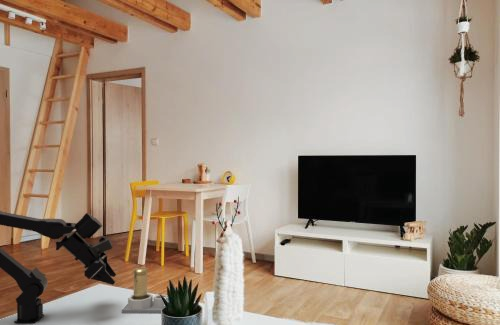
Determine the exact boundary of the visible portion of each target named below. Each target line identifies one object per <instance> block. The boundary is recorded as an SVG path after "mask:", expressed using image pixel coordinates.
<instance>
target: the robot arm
mask: <svg viewBox="0 0 500 325" xmlns="http://www.w3.org/2000/svg"><path fill="white" fill-rule="evenodd" d="M0 226H4V227H10V228H16V229H20V230H26V231H29V232H30V231H31V232H35V233H37V234H40V235H41V236H43V237H46V238H49V239H52V240H56V241H55V246H56V247H55V251H59V250H60V249H61V248H62V247H63V248H64V249H65V250H66V251H67V252H68V253H69V254H70V255H72V256H73V257H74V260H76V261H77V262H78V261H79V262H80V263H81V265H83V266H84V268H85V269H84V272H83V273H84V276H85V278H87V279H88V280H91V281H92V280H94V281H98V282H101V283H105V284H109V285H114V284H115V283H116V281H115V280H114V278H115V277H116V276H117V273H116V272H115V270H114V269H113V268H112V266H111V265H110V263H109V262H108V256H109V255H108V252H107V251H110V250H112V249H113V247H114V245H113V243H112V240H111V239H110V237H106V236H101V237H99V239H98V242H97V243H95V244H92V243H91V242H89V243H88V242H87V241H85V239H91V238H92V237H93V236H94V235H95V234H96V233H97V232H98V231H99V230H101V228H102V227H103V224H102V222H100V220H98V218H96V217H94V216H93V215H91V214H89V212H86V213H85V214H83V216H82V218H80V219H79V220H78V221H77V222H76V223H75V222H66V221H65V220H64V219H62V218H36V217H32V216H26V215H23V214H21V215H20V214H17V213H11V212H7V211H1V210H0ZM74 230H75V231H74ZM62 237H63V238H62ZM60 238H62V239H60ZM58 239H60V240H58ZM0 269H1V270H2V271H3V272H5V273H6V274H7V275H9V276H10V277H11V278H12V279H14V281H15V282H16V284H17V286H18V288H19V290H20V291H21V292H20V293H19V295H18V296H17V297H16V298H15V301H16V318H17V319H15V320H14V321H13V323H14V324H34V323H36V322H37V321H39V320H40V319H42V318H43V317H44V316H45V314H44V305H43V303H42V298H39V297H41V295H42V294H44V292H45V289H46V288H47V286H48V279H47V277H46V274H45V273H42V272H41V271H40V270H39V269H38V268H37V267H34V268H33V269H32V270H31V269H28V268H27V267H25V266H24V265H23V264H22V263H20V262H19V261H18V260H16V259H15V258H14V257H13V256H12V255H10V254H9V253H8V252H6V251H5V249H3V248H2V247H0Z"/></svg>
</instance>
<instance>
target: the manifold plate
mask: <svg viewBox="0 0 500 325" xmlns="http://www.w3.org/2000/svg"><path fill="white" fill-rule="evenodd" d="M160 295H162V296H163V297H165V298H166V300H167V301H169V297H168V298H167V296H168V295H167V294H158V295H154V296H153V295H152V294H151V293H148V292H147V298H146V299H143V300H134V294H131V295H129V297H128V298H127V304H126V305H125V306H124V307H123V308H122V310H121V314H162V313H161V310H162V309H163V308H164V307H165V306H164V303H163V301H162V299H161V296H160Z"/></svg>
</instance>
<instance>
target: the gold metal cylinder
mask: <svg viewBox="0 0 500 325" xmlns="http://www.w3.org/2000/svg"><path fill="white" fill-rule="evenodd" d="M132 273H133V274H132V275H133V295H134V300H143V299H146V298H147V293H148V268H147V267H144V266H143V267H142V266H141V267H140V266H139V267H136V268H133V272H132Z"/></svg>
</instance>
